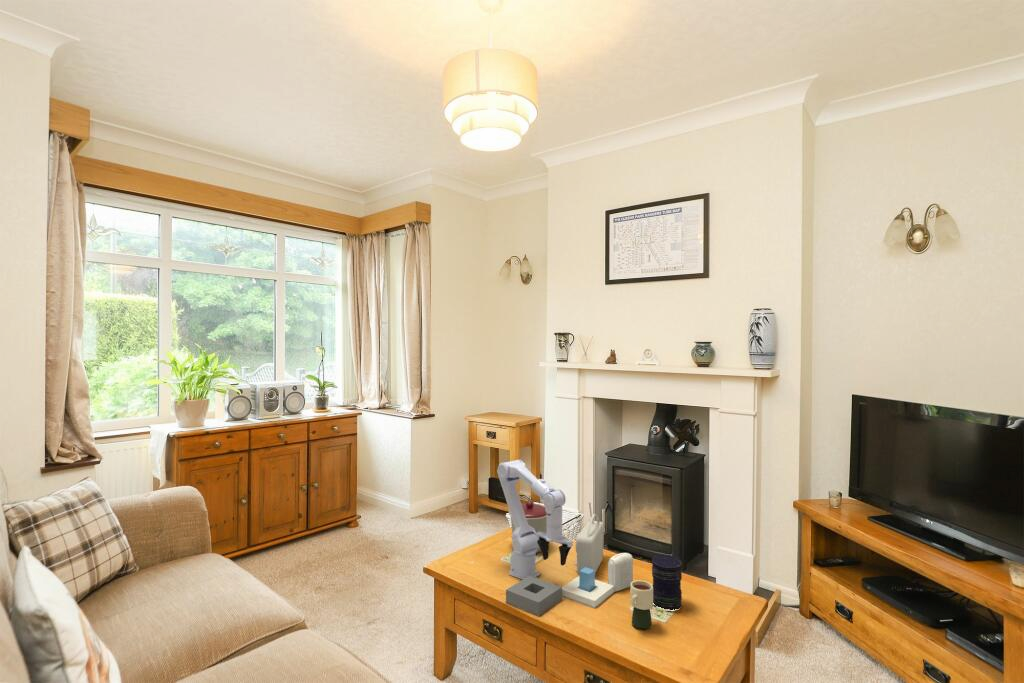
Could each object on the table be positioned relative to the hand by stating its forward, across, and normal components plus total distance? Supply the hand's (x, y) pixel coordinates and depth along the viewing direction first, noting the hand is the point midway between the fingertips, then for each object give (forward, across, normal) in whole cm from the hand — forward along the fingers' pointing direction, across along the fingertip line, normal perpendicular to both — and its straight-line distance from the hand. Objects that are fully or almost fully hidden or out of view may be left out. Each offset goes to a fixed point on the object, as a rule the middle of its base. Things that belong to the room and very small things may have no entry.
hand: (554, 561), depth 189 cm
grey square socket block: (+10, -1, -11) cm, 15 cm away
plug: (+10, +11, +5) cm, 15 cm away
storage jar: (+11, +36, +16) cm, 41 cm away
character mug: (+11, +35, -2) cm, 36 cm away
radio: (+11, 0, +25) cm, 27 cm away
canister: (+10, -29, +24) cm, 39 cm away
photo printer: (+11, +18, +17) cm, 27 cm away
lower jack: (+10, +11, +5) cm, 16 cm away
